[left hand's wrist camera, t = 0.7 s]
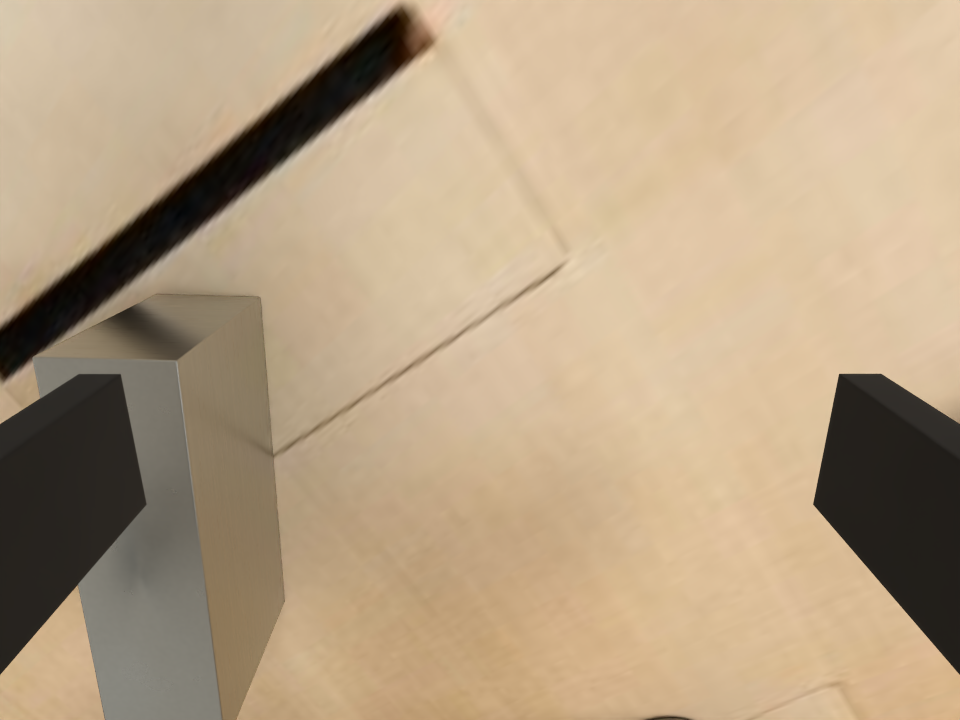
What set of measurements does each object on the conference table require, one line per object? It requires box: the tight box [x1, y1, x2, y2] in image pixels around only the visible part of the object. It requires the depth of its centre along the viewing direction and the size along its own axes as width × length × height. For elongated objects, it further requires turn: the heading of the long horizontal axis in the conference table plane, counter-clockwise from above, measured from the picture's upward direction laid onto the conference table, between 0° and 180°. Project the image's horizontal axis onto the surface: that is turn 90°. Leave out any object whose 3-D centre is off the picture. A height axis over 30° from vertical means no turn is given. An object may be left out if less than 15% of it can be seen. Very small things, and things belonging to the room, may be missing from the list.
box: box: [33, 294, 285, 720], centre depth 36 cm, size 21×6×11 cm, turn 178°
